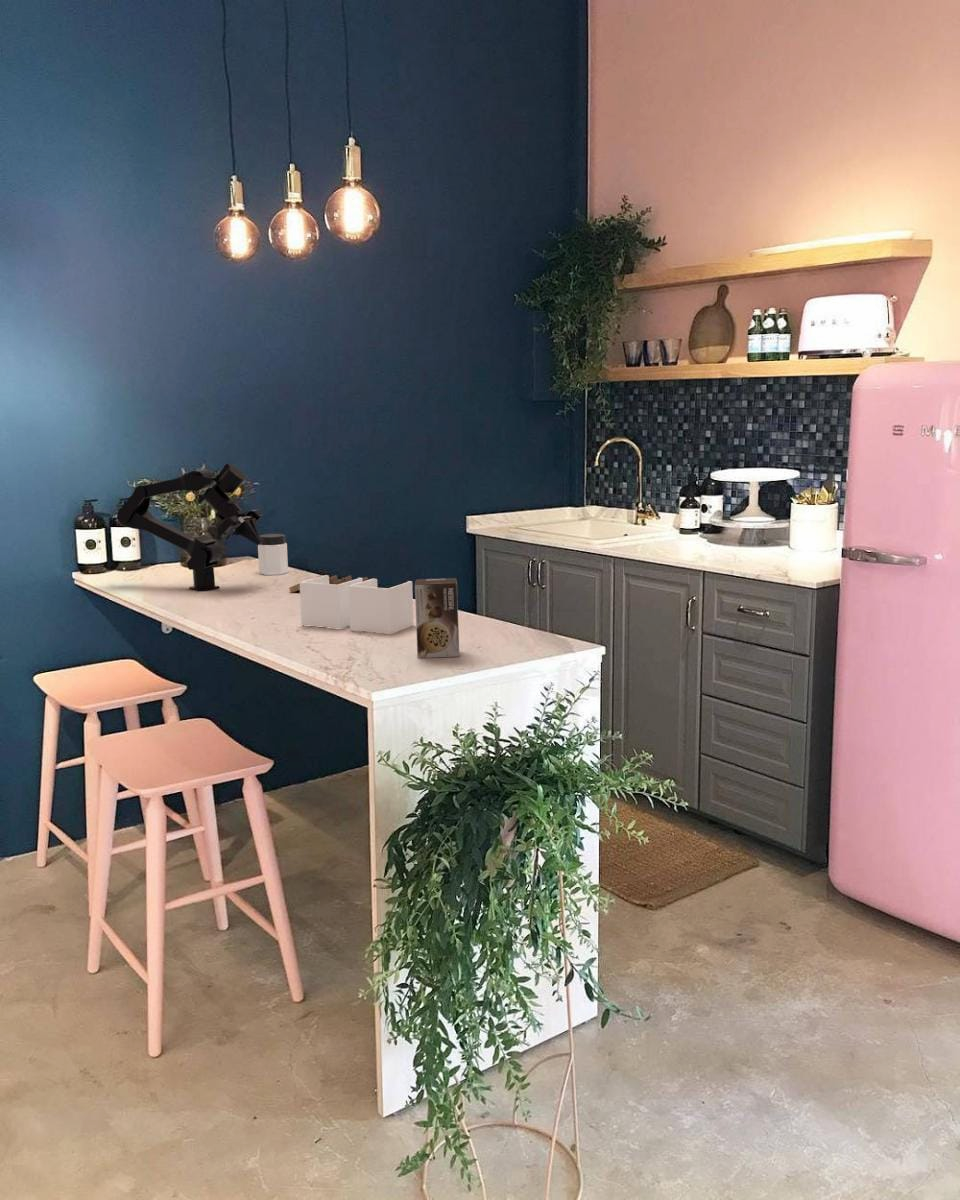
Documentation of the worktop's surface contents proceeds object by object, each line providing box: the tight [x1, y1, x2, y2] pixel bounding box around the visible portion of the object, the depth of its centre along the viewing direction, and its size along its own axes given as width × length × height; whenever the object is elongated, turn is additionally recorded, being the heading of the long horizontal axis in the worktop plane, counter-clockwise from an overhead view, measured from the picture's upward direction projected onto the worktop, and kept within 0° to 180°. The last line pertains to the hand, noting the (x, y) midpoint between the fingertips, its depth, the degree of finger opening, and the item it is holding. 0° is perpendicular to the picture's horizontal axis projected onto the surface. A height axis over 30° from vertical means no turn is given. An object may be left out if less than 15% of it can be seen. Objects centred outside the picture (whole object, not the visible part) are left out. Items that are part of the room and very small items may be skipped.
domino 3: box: [331, 575, 353, 585], centre depth 316 cm, size 2×5×9 cm
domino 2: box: [329, 574, 339, 584], centre depth 317 cm, size 2×5×9 cm
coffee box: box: [414, 577, 460, 659], centre depth 239 cm, size 9×6×16 cm
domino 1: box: [288, 574, 323, 593], centre depth 318 cm, size 2×5×9 cm
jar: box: [257, 533, 289, 576], centre depth 352 cm, size 9×8×12 cm
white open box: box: [299, 574, 414, 635], centre depth 271 cm, size 25×11×11 cm, turn 64°
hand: (259, 544), depth 319 cm, fingers closed
